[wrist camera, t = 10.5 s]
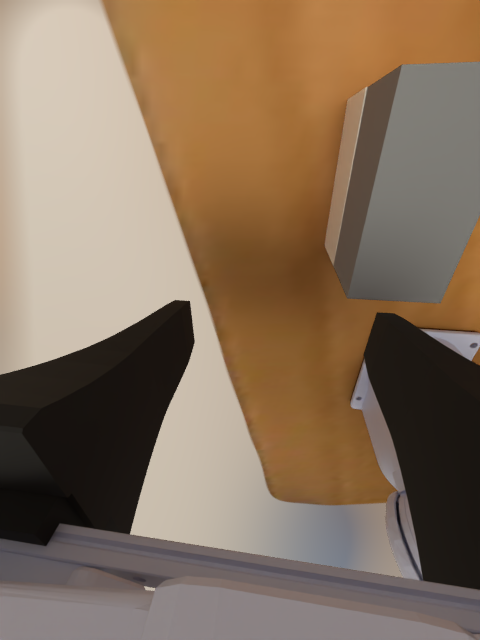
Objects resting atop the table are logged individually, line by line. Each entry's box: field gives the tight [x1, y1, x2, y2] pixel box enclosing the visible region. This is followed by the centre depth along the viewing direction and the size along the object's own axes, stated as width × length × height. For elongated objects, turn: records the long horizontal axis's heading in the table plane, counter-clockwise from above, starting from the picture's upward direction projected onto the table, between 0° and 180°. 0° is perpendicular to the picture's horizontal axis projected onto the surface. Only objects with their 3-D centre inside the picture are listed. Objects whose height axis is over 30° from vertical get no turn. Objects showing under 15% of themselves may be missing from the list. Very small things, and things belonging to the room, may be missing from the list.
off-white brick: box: [324, 87, 367, 266], centre depth 15 cm, size 8×4×4 cm, turn 1°
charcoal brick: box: [334, 62, 480, 303], centre depth 12 cm, size 8×4×4 cm, turn 0°
